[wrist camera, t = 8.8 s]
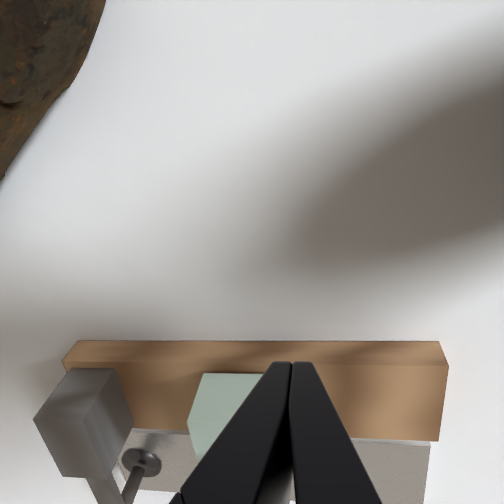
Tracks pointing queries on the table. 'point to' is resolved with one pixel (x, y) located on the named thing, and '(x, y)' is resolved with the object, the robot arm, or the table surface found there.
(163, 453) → the bolt plate
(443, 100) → the table surface
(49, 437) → the wood and metal assembly
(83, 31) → the dark brown rough bar
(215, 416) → the sliding leg
